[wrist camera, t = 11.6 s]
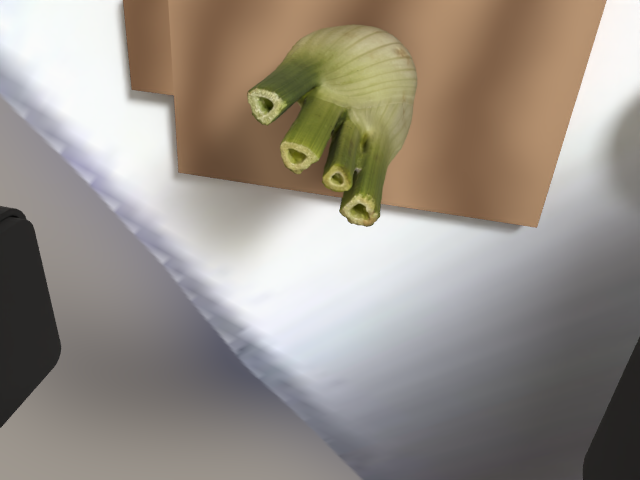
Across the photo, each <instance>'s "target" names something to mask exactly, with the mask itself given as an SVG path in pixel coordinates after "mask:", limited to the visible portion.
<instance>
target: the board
mask: <svg viewBox="0 0 640 480" xmlns="http://www.w3.org/2000/svg"><path fill="white" fill-rule="evenodd" d="M606 1H607V0H123V6H124V16H125V26H126V36H127V47H128V57H129V67H130V77H131V88H132V90H138V91H145V92H152V93H160V94H167V95H174V106H175V123H176V139H177V156H178V173H185V174H191V175H198V176H204V177H211V178H217V179H224V180H230V181H237V182H243V183H250V184H256V185H263V186H269V187H276V188H282V189H289V190H295V191H302V192H308V193H315V194H321V195H328V196H334V197H341V198H342V197H343V193H344V192H335V191H332V190H330V189H328V188H326V187H325V186H324V184H323V183H322V180H323V178H322V176H323V172H324V166H325V164H326V161H327V157H328V153H329V147H330V143H331V138H330V139H329V141H328V142H327V145H326V147H325V149H324V151H323V153H322V155H321V157H320V159H319V161H317V162H316V163H313V164H311V165H310V166H309V167H308V168H307V169H305V170H303V171H302V172H301V174H295V173H293V172H292V171H290V170H289V169H287V168H286V167H285V165H284V163H283V160H282V157H281V152H280V144H281V142H282V140H283V139H284V137H285V135H286V133H287V132H288V131H289V129H290V127H291V125H292V124H293V122H294V121H295V120H296V118H297V116H298V114H299V112H300V110H301V107H300V105H299V104H298V103H297V102H295V103H294V104H293V105H292V106H291V107H290V108H289V109H287V111H286V112H284V113H283V114H282V115H281V116H280V117H279V118H277V119H276V120H275V121H274V122H272V123H271V124H269V125H268V126H267V125H262V124H261V123H260V122H258V121H257V120H256V119H255V117H254V116H253V115H252V110H251V106H250V104H249V103H248V97H247V93H248V91H249V90H250V89H251V88H252V87H254V86H255V85H256V84H258V83H259V82H261V81H262V80H264V79H265V78H266V77H267V76H268V75H270V74H271V73H272V72H273V71H275V70H276V68H277V67H278V66H279V65H280V64H281V63H282V62H283V60H284V58H285V57H286V55H287V53H288V52H289V51H290V50H291V49H292V46H294V45H295V43H296V42H297V41H299V40H300V39H301V38H303V37H305V36H306V35H308V34H310V33H312V32H314V31H317V30H319V29H322V28H328V27H335V26H343V25H352V24H355V25H365V26H373V27H377V28H380V29H382V30H385V31H387V32H388V33H390V34H392V35H393V36H395V37H396V38H397V39H398V40H399V41H400V42H401V43H402V44H403V45H404V46H405V47H406V48H407V50H408V51H409V53H410V55H411V57H412V59H413V62H414V64H415V68H416V73H417V88H416V94H415V98H414V104H413V115H412V121H411V125H410V129H409V132H408V135H407V137H406V140H405V142H404V144H403V146H402V149H401V150H400V151H399V152H398V154H397V155H396V156H395V157H394V159H393V160H392V161H391V163H390V164H389V166H388V168H387V172H386V176H385V180H384V185H383V191H382V200H381V204H386V205H393V206H400V207H406V208H413V209H419V210H426V211H432V212H439V213H445V214H452V215H458V216H465V217H471V218H478V219H484V220H491V221H497V222H504V223H510V224H517V225H523V226H530V227H536V228H537V226H538V222H539V219H540V216H541V213H542V209H543V206H544V203H545V200H546V196H547V193H548V190H549V187H550V183H551V180H552V177H553V173H554V170H555V167H556V164H557V160H558V157H559V154H560V151H561V147H562V144H563V141H564V138H565V134H566V131H567V128H568V125H569V121H570V118H571V115H572V111H573V108H574V105H575V102H576V98H577V95H578V92H579V89H580V85H581V82H582V79H583V76H584V72H585V69H586V66H587V63H588V59H589V56H590V53H591V50H592V46H593V43H594V40H595V36H596V33H597V30H598V27H599V23H600V20H601V17H602V14H603V10H604V7H605V4H606Z"/></svg>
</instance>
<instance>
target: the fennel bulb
mask: <svg viewBox="0 0 640 480" xmlns="http://www.w3.org/2000/svg"><path fill="white" fill-rule="evenodd" d="M416 88H417V73H416V68H415V64H414V62H413V59H412V57H411V55H410V53H409V51H408V50H407V48H406V47H405V46H404V45H403V44H402V43H401V42H400V41H399V40H398V39H397V38H396V37H395V36H393V35H392V34H390V33H388V32H387V31H385V30H382V29H380V28H377V27H373V26H365V25H355V24H352V25H343V26H335V27H328V28H322V29H319V30H317V31H314V32H312V33H310V34H308V35H306V36H305V37H303V38H301V39H300V40H299V41H297V42H296V43H295V45H294V46H292V49H291V50H290V51H289V52H288V53H287V55H286V57H285V58H284V60H283V62H282V63H281V64H280V65H279V66H278V67H277V68H276V70H275V71H273V72H272V73H271V74H270V75H268V76H267V77H266V78H265V79H264V80H262V81H261V82H259V83H258V84H256V85H255V86H254V87H252V88H251V89H250V90H249V91H248V93H247V97H248V103H249V104H250V106H251V110H252V115H253V116H254V117H255V119H256V120H257V121H258V122H260V123H261V124H262V125H267V126H268V125H269V124H271V123H272V122H274V121H275V120H276V119H277V118H279V117H280V116H281V115H282V114H283V113H284V112H286V111H287V109H289V108H290V107H291V106H292V105H293V104H294V103H295V102H297V103H298V104H299V105H300V107H301V110H300V112H299V114H298V116H297V118H296V120H295V121H294V122H293V124H292V125H291V127H290V129H289V131H288V132H287V133H286V135H285V137H284V139H283V140H282V142H281V144H280V152H281V157H282V160H283V163H284V165H285V167H286V168H287V169H289V170H290V171H292V172H293V173H295V174H301V172H302V171H303V170H305V169H307V168H308V167H309V166H310V165H311V164H313V163H316V162H317V161H319V159H320V157H321V155H322V153H323V151H324V149H325V147H326V145H327V142H328V141H329V139H330V138H331V143H330V147H329V153H328V157H327V161H326V164H325V166H324V172H323V176H322V178H323V180H322V183H323V184H324V186H325V187H326V188H328V189H330V190H332V191H335V192H344V193H343V197H342V202H341V205H340V210H339V212H340V213H341V214H342V215H343V216H344V217H346V218H347V219H348V222H350V223H351V224H356V225H363V226H366V227H367V226H372V225H373V224H374V222H375V221H377V219H378V218H379V217H380V205H381V200H382V191H383V185H384V180H385V176H386V172H387V168H388V166H389V164H390V163H391V161H392V160H393V159H394V157H395V156H396V155H397V154H398V152H399V151H400V150H401V149H402V146H403V144H404V142H405V140H406V137H407V135H408V132H409V129H410V125H411V121H412V115H413V104H414V98H415V94H416Z"/></svg>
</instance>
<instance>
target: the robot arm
mask: <svg viewBox="0 0 640 480" xmlns="http://www.w3.org/2000/svg"><path fill="white" fill-rule="evenodd" d="M60 352H61V344H60V339H59V335H58V330H57V326H56V322H55V318H54V313H53V308H52V304H51V300H50V295H49V291H48V287H47V282H46V278H45V274H44V269H43V265H42V261H41V256H40V252H39V247H38V244H37V239H36V234H35V230H34V227H33V225H32V223H31V222H30V221H28V220H26V217H25V215H24V214H23V213H22V212H21V211H20V210H18V209H14V208H8V207H2V206H0V428H1V427H2V426H3V424H4V423H5V422H6V421H7V420H8V419H9V418H10V417H11V415H12V414H13V413H14V412H15V411H16V410H17V408H18V407H19V406H20V405H21V404H22V403H23V402H24V400H26V398H27V397H28V396H29V395H30V394H31V393H32V392H33V390H34V389H35V388H36V387H37V386H38V385H39V384H40V383H41V381H42V380H43V379H44V378H45V377H46V376H47V375H48V373H49V372H50V371H51V370H52V369H53V368H54V366H55V365H56V363H57V361H58V359H59V356H60ZM583 480H640V337H639V339H638V342H637V344H636V346H635V348H634V350H633V353H632V355H631V357H630V359H629V361H628V364H627V366H626V368H625V370H624V372H623V375H622V377H621V379H620V381H619V383H618V386H617V388H616V390H615V392H614V394H613V397H612V399H611V401H610V403H609V405H608V408H607V410H606V412H605V414H604V416H603V419H602V421H601V423H600V425H599V427H598V430H597V432H596V434H595V436H594V438H593V441H592V443H591V445H590V447H589V449H588V452H587V454H586V456H585V459H584V464H583Z"/></svg>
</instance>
